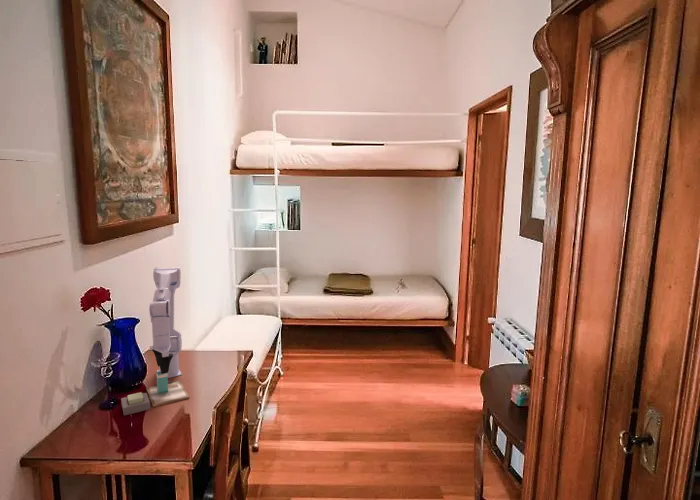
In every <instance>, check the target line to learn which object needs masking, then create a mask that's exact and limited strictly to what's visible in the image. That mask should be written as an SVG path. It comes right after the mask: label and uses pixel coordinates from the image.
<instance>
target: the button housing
mask: <svg viewBox="0 0 700 500" xmlns="http://www.w3.org/2000/svg"><path fill="white" fill-rule="evenodd" d="M142 395H143V402H139V403H135V404H131V405H128V398H127V396H125V397H122V398H120V400H121V401H120V403H121V409H122V413H123V416H128V415H132V414H136V413H140V412H144V411H148V410H151V400H150V398H149V395H148V392H142Z"/></svg>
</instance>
